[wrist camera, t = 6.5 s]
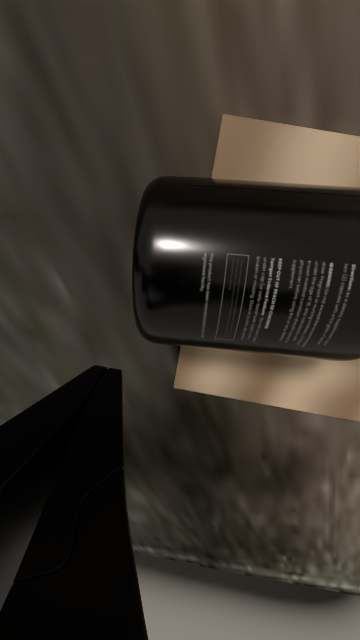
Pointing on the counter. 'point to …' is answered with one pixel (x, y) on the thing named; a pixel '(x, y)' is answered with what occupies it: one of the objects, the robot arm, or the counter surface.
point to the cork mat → (261, 369)
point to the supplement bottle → (249, 267)
